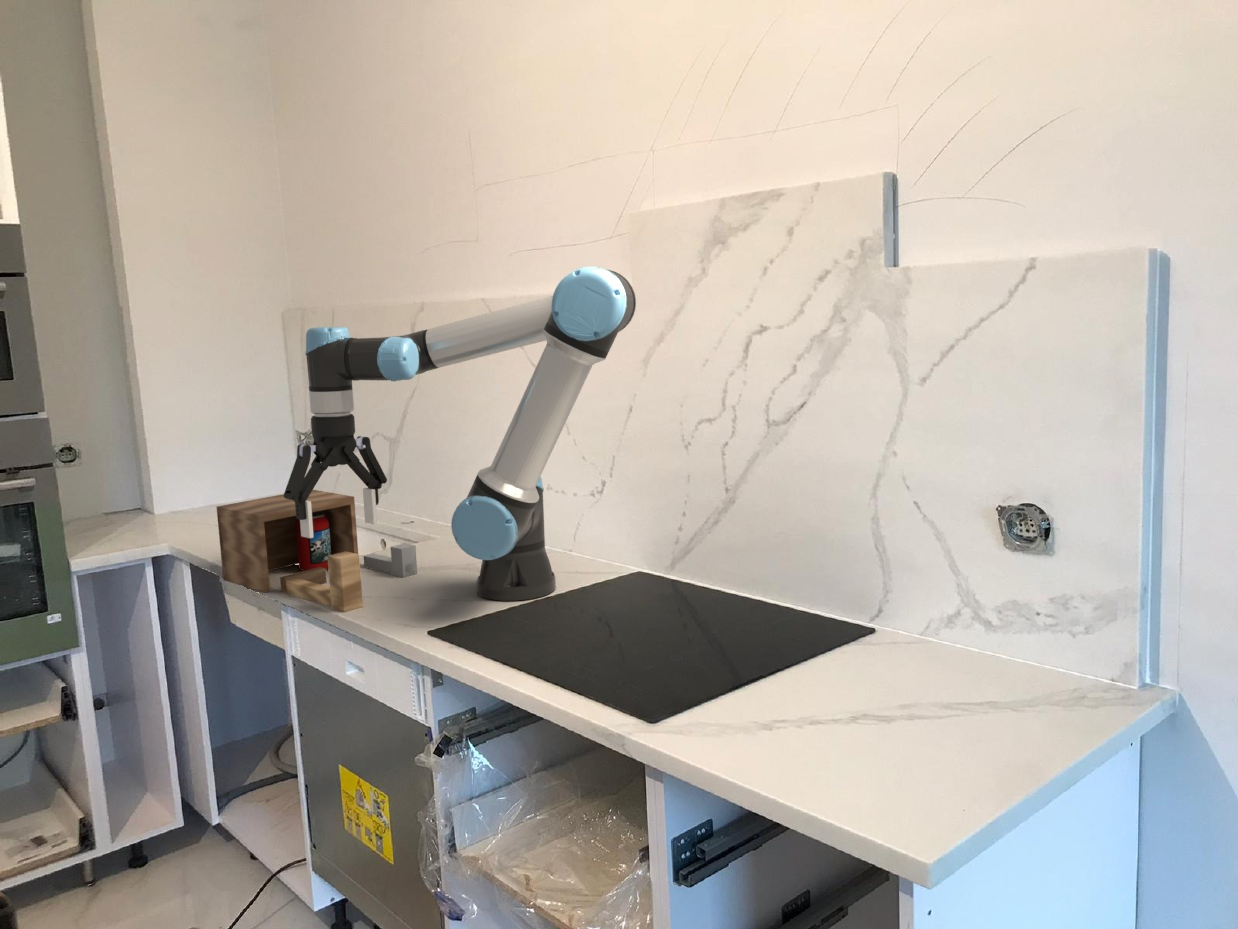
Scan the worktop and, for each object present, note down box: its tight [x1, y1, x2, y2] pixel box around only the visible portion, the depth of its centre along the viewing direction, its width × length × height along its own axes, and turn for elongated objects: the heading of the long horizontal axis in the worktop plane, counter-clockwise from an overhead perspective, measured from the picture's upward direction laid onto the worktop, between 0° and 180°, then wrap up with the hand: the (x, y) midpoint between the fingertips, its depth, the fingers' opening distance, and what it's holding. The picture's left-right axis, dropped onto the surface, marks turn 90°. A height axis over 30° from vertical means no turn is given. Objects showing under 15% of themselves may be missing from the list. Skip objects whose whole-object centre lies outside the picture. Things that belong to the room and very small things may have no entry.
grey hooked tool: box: [363, 542, 418, 578], centre depth 209 cm, size 14×4×6 cm, turn 50°
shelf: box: [216, 489, 359, 594], centre depth 208 cm, size 16×22×16 cm
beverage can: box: [296, 512, 331, 571], centre depth 211 cm, size 7×7×12 cm
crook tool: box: [279, 551, 364, 613], centre depth 191 cm, size 22×10×10 cm, turn 50°
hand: (340, 530), depth 182 cm, fingers open, 13 cm apart
